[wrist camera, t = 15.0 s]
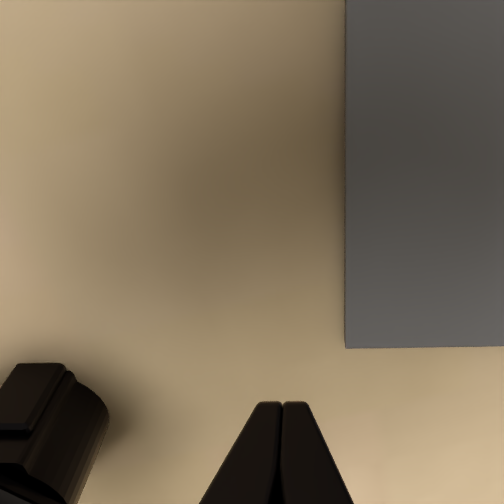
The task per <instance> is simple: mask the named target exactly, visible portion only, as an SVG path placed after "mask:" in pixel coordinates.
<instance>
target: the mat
mask: <svg viewBox="0 0 504 504" xmlns="http://www.w3.org/2000/svg"><path fill="white" fill-rule="evenodd" d="M485 346H504V0H345V348H346V349H352V348H418V347H485Z"/></svg>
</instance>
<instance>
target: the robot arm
mask: <svg viewBox="0 0 504 504" xmlns="http://www.w3.org/2000/svg"><path fill="white" fill-rule="evenodd" d="M108 425H109V413H108V410H107V408H106V406H105V404H104V402H103V401H102V400H101V398H100V397H99V396H98V395H96V394H95V393H94V392H93V391H92V390H90V389H89V388H88V387H86V386H84V385H82V384H81V383H79V382H77V380H76V378H75V375H74V374H73V373H72V372H71V371H66V369H65V367H64V365H62V364H18V365H16V367H15V368H14V369H13V371H12V372H11V374H10V375H9V376H8V378H7V379H6V381H5V382H4V384H3V385H2V386H1V388H0V504H77V503H78V501H79V498H80V496H81V493H82V491H83V488H84V486H85V484H86V481H87V479H88V476H89V474H90V471H91V469H92V466H93V464H94V461H95V459H96V456H97V454H98V452H99V449H100V447H101V443H102V440H103V438H104V435H105V433H106V430H107V428H108ZM199 504H354V503H353V501H352V498H351V496H350V494H349V492H348V490H347V488H346V485H345V483H344V481H343V479H342V477H341V475H340V472H339V470H338V468H337V466H336V464H335V461H334V459H333V457H332V455H331V453H330V451H329V448H328V446H327V444H326V442H325V440H324V438H323V435H322V433H321V431H320V429H319V427H318V425H317V422H316V420H315V418H314V416H313V414H312V412H311V409H310V407H309V405H308V404H307V403H306V402H304V401H287V402H285V403H284V404H283V405H282V403H281V402H278V401H262V402H259V403H258V404H257V405H256V407H255V408H254V410H253V412H252V413H251V415H250V417H249V419H248V420H247V422H246V424H245V426H244V427H243V429H242V431H241V432H240V434H239V436H238V438H237V439H236V441H235V443H234V444H233V446H232V448H231V450H230V451H229V453H228V455H227V456H226V458H225V460H224V462H223V463H222V465H221V467H220V468H219V470H218V472H217V474H216V475H215V477H214V479H213V480H212V482H211V484H210V486H209V487H208V489H207V491H206V492H205V494H204V496H203V498H202V499H201V501H200V503H199Z"/></svg>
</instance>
